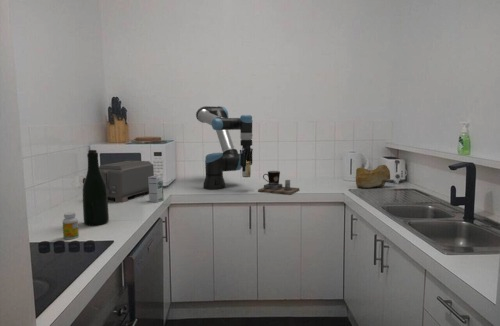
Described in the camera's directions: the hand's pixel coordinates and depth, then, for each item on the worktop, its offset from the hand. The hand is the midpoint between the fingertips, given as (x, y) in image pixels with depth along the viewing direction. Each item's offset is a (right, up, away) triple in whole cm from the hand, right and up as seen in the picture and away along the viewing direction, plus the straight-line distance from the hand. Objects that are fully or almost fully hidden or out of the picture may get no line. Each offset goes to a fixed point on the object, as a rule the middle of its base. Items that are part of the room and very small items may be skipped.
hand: (246, 175), depth 237 cm
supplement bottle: (-68, -21, -91) cm, 116 cm away
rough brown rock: (+84, -8, +13) cm, 85 cm away
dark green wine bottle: (-67, -19, -71) cm, 99 cm away
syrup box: (-51, -14, -27) cm, 59 cm away
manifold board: (+21, -10, -1) cm, 23 cm away
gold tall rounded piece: (0, -1, 0) cm, 1 cm away
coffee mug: (+17, -8, +19) cm, 27 cm away
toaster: (-73, -13, -14) cm, 76 cm away
